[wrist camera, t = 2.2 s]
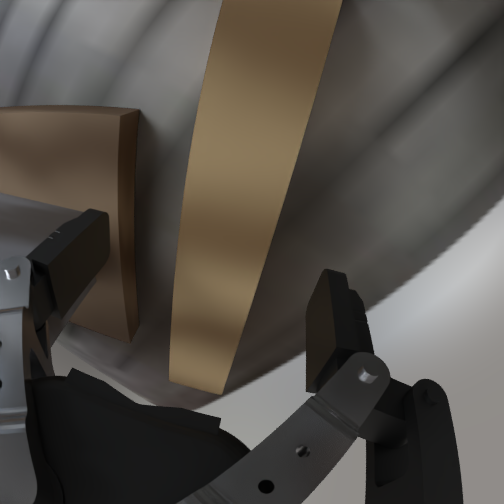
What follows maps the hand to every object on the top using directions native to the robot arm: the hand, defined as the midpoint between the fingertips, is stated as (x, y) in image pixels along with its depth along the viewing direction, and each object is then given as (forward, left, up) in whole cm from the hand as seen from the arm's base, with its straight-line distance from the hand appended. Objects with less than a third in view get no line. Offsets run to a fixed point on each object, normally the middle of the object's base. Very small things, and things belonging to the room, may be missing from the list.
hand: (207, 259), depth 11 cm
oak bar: (-1, 0, -6) cm, 6 cm away
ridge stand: (+4, -15, -6) cm, 16 cm away
